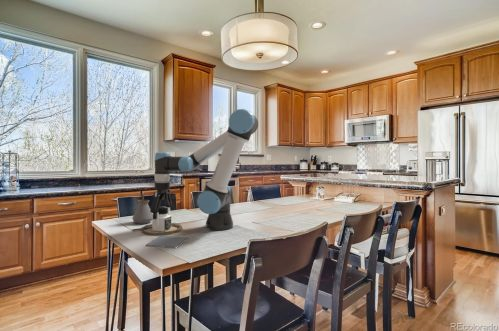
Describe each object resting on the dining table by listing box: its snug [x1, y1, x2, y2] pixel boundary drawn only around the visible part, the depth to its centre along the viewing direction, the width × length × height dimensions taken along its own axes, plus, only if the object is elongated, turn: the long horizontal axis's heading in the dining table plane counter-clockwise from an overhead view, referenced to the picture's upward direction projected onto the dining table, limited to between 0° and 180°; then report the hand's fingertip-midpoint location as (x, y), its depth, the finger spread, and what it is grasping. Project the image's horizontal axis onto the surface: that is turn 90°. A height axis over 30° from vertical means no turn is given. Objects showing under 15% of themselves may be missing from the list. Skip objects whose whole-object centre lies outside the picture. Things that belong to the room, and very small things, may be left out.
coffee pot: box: [132, 193, 153, 225], centre depth 166 cm, size 21×12×15 cm, turn 21°
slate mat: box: [145, 235, 189, 248], centre depth 126 cm, size 14×14×1 cm
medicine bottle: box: [151, 206, 172, 232], centre depth 146 cm, size 7×7×12 cm
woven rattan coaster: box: [140, 222, 183, 236], centre depth 147 cm, size 20×20×1 cm
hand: (161, 222), depth 147 cm, fingers open, 13 cm apart
